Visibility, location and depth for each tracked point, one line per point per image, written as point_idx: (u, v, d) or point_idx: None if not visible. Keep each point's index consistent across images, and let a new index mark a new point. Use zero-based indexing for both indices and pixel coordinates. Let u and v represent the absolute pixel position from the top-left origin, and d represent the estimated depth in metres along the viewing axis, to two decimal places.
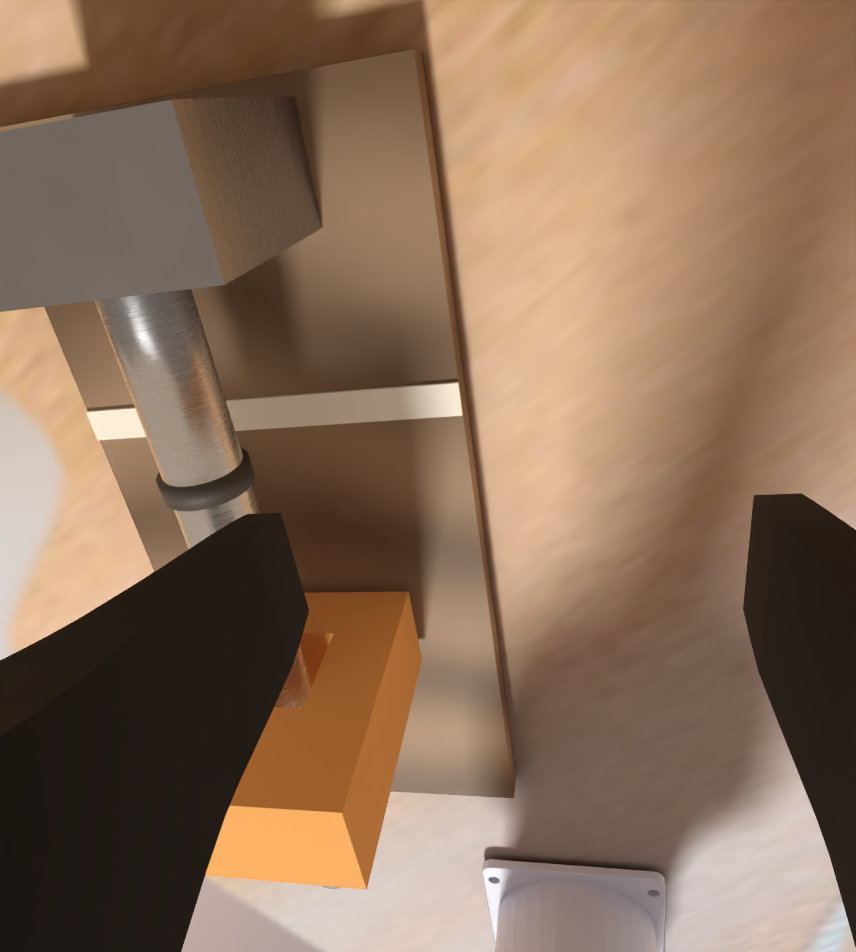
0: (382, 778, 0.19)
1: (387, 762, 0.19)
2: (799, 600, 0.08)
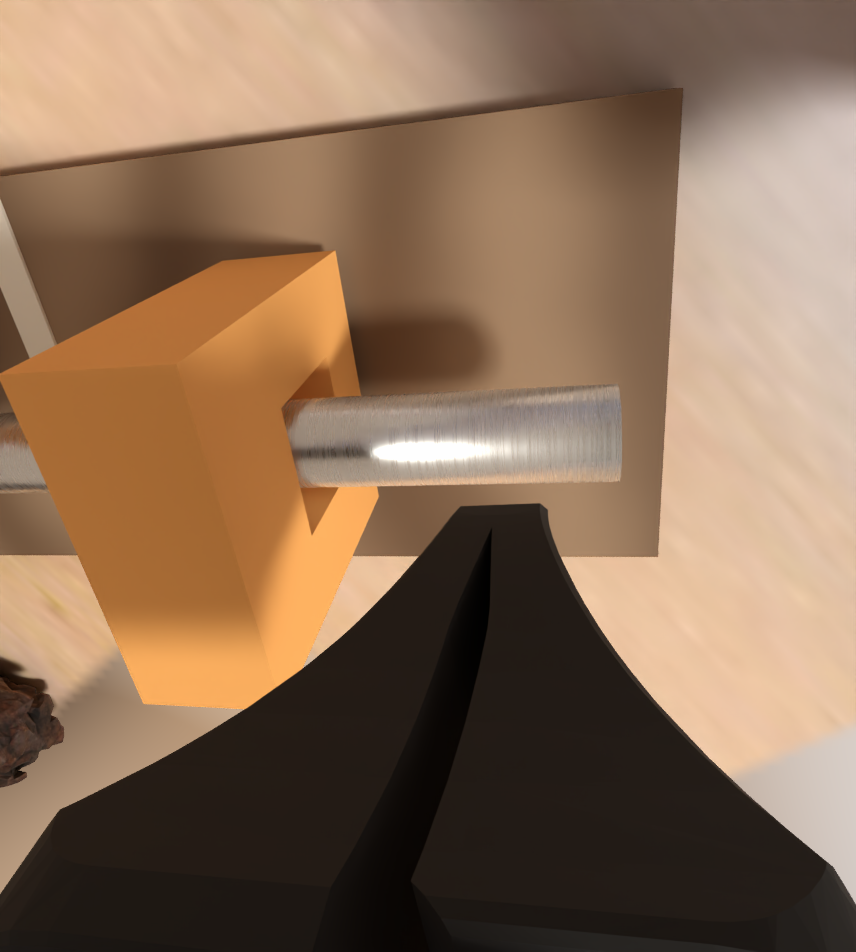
0: (197, 317, 0.12)
1: (216, 308, 0.12)
2: None
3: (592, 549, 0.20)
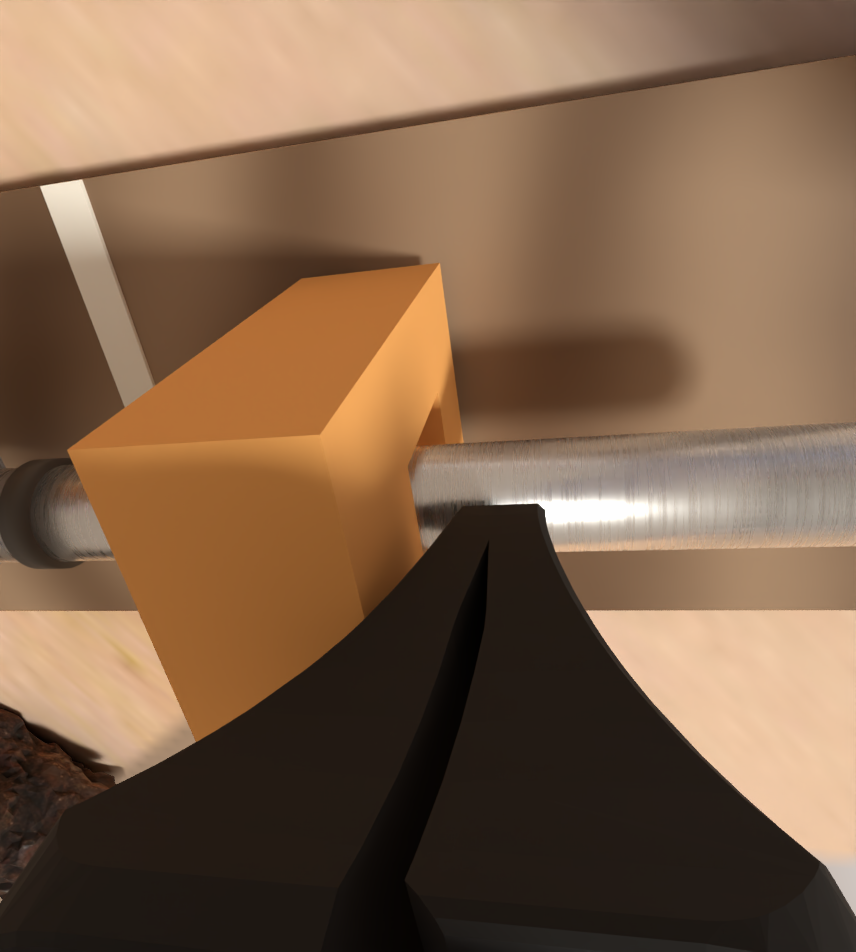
0: (312, 359, 0.09)
1: (331, 344, 0.10)
2: None
3: (787, 602, 0.17)
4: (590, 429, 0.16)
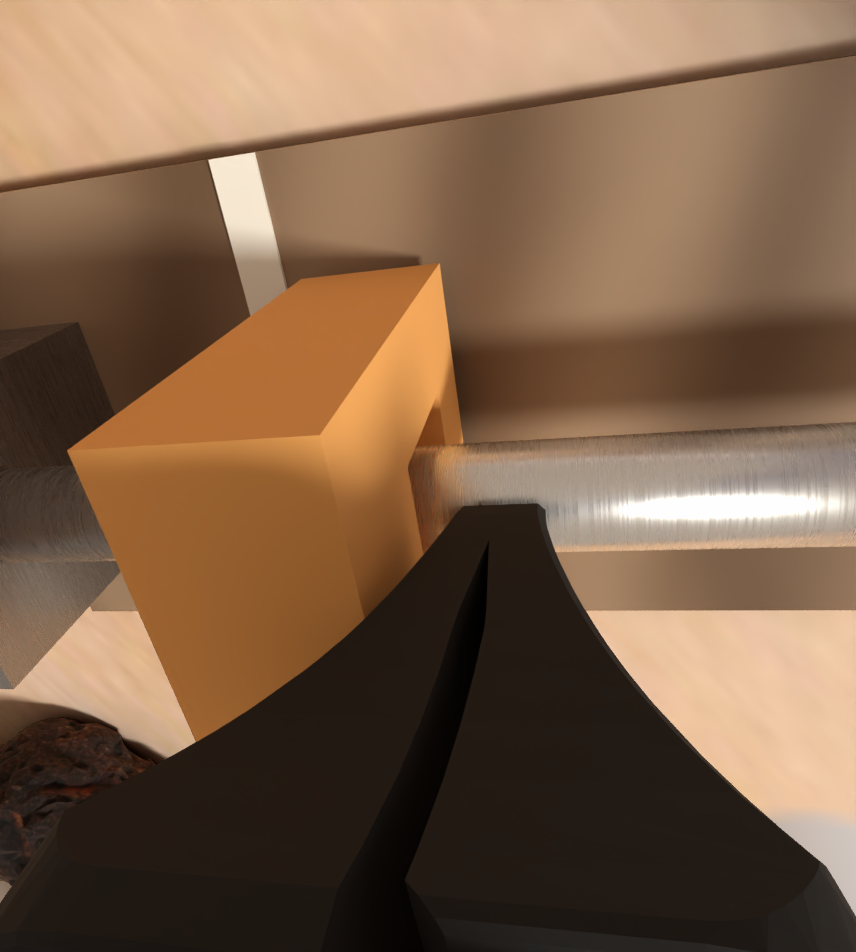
0: (312, 358, 0.09)
1: (330, 345, 0.10)
2: None
3: None
4: (782, 419, 0.15)
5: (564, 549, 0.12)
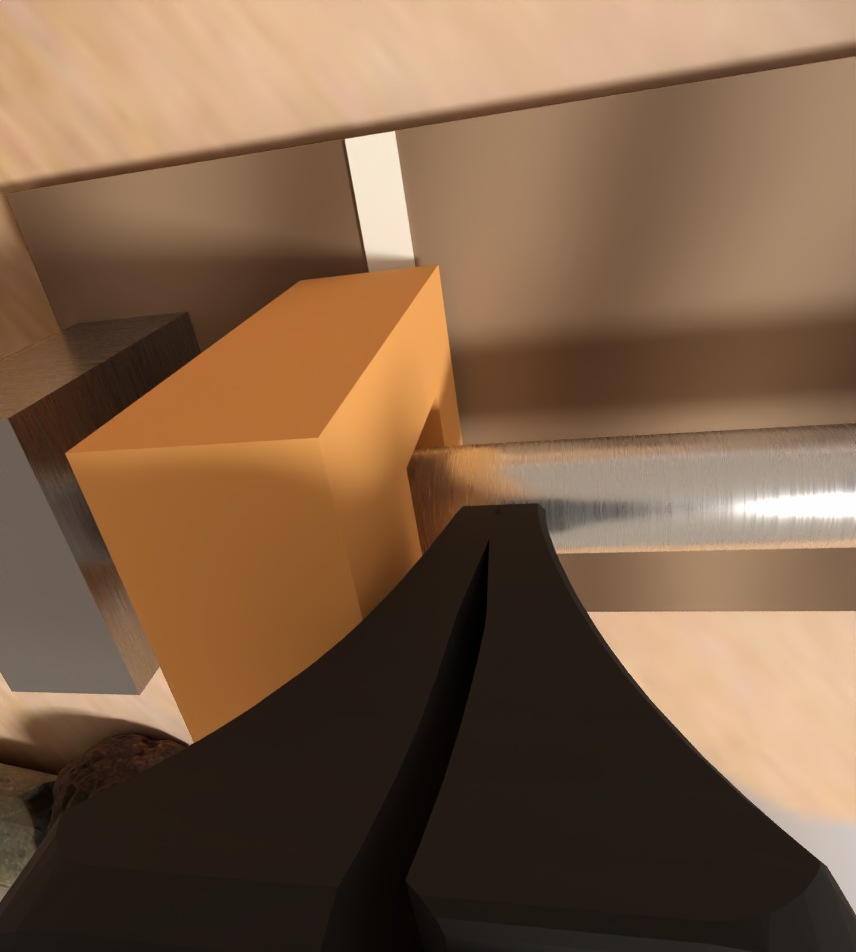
0: (311, 361, 0.09)
1: (329, 347, 0.10)
2: None
3: None
4: None
5: (752, 547, 0.11)
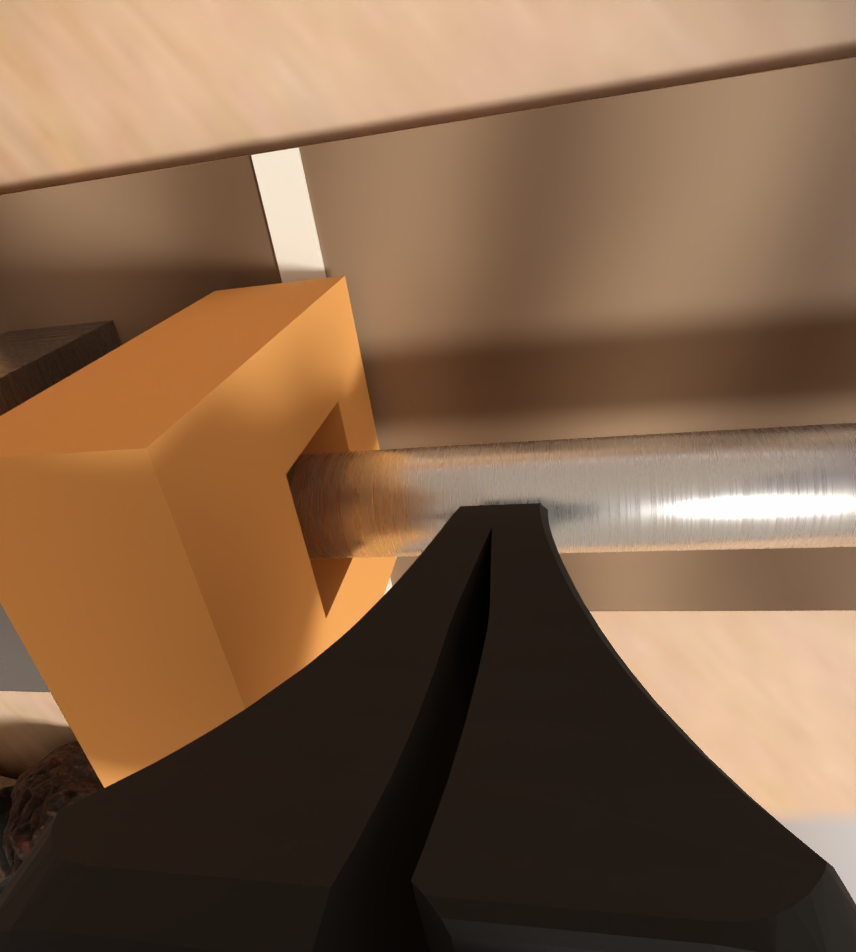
0: (180, 373, 0.10)
1: (204, 358, 0.10)
2: None
3: None
4: (831, 417, 0.14)
5: (623, 549, 0.11)
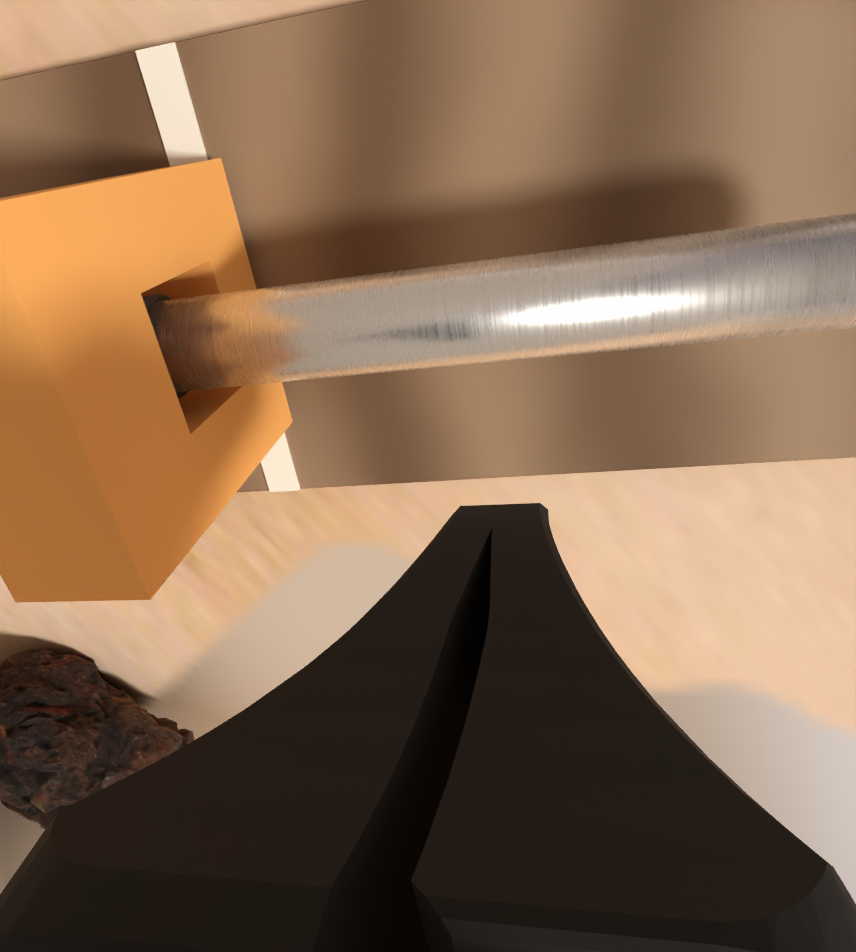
0: (38, 192, 0.12)
1: (64, 187, 0.12)
2: None
3: (832, 449, 0.18)
4: None
5: (431, 359, 0.13)
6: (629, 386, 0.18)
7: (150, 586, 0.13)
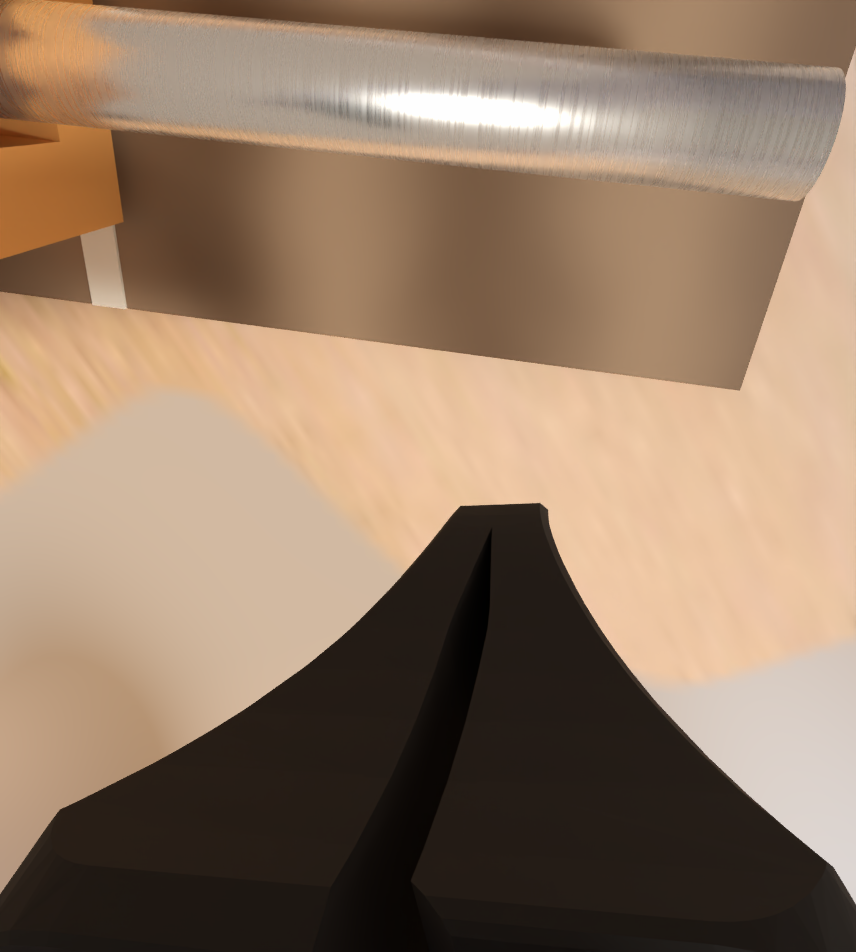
0: None
1: None
2: None
3: (669, 371, 0.18)
4: None
5: (244, 124, 0.12)
6: (484, 259, 0.17)
7: None
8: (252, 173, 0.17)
